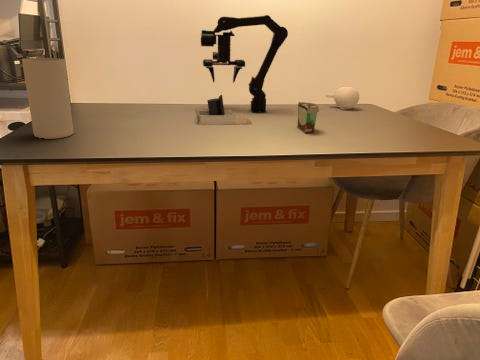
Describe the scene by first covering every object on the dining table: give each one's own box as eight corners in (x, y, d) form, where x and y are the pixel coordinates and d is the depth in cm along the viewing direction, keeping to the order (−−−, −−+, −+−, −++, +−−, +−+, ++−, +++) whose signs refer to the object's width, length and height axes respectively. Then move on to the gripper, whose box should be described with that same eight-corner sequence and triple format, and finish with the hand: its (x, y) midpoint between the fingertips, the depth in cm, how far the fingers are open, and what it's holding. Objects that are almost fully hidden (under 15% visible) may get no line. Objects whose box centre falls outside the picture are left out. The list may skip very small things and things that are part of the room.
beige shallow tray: (247, 117, 173) (247, 109, 172) (252, 124, 161) (252, 115, 160) (196, 118, 170) (196, 110, 168) (197, 124, 158) (197, 115, 157)
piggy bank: (359, 113, 198) (338, 110, 210) (366, 90, 196) (345, 88, 209) (342, 107, 191) (321, 105, 204) (349, 83, 190) (328, 82, 202)
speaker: (229, 119, 166) (227, 94, 162) (223, 122, 161) (220, 96, 158) (214, 118, 169) (211, 94, 166) (207, 121, 165) (204, 96, 161)
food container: (321, 134, 148) (324, 107, 145) (305, 134, 147) (308, 107, 144) (310, 126, 160) (313, 101, 156) (296, 127, 159) (298, 101, 155)
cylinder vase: (50, 141, 129) (38, 61, 120) (25, 136, 135) (13, 59, 126) (81, 134, 139) (73, 59, 130) (57, 129, 145) (48, 57, 136)
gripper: (241, 46, 187) (240, 80, 192) (201, 45, 183) (201, 80, 189) (245, 47, 177) (244, 83, 182) (203, 46, 173) (204, 83, 179)
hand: (223, 82), depth 183 cm, fingers open, 9 cm apart
